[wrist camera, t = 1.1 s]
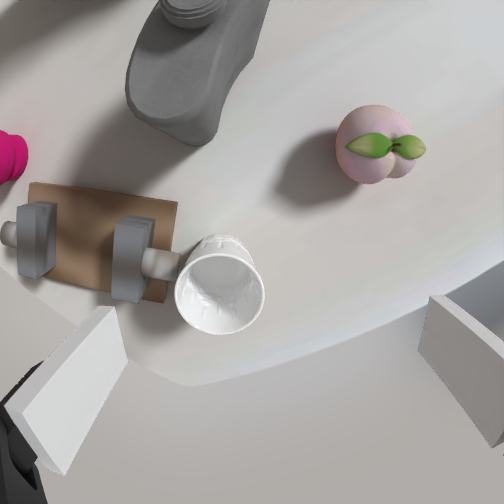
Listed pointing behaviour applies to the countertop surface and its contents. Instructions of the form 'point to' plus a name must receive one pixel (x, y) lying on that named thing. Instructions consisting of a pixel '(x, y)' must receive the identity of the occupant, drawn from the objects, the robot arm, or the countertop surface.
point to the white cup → (219, 287)
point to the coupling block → (96, 240)
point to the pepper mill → (12, 156)
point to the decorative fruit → (376, 144)
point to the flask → (191, 63)
